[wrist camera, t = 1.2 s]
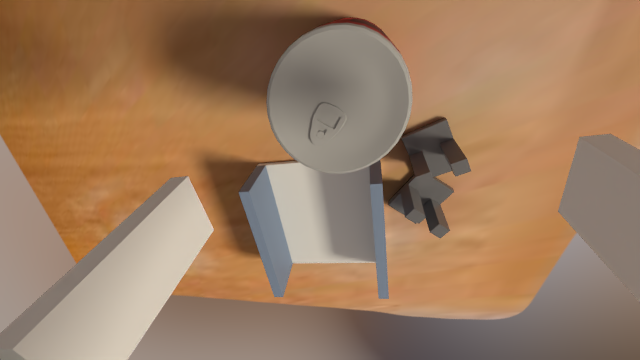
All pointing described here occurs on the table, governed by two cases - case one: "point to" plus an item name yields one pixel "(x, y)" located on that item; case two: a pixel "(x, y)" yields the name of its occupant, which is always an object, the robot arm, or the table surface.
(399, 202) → the clip
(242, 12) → the table surface
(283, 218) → the holder
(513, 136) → the table surface
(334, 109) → the canned food
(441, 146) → the clip
